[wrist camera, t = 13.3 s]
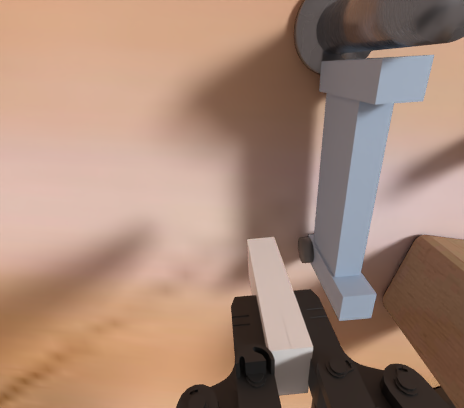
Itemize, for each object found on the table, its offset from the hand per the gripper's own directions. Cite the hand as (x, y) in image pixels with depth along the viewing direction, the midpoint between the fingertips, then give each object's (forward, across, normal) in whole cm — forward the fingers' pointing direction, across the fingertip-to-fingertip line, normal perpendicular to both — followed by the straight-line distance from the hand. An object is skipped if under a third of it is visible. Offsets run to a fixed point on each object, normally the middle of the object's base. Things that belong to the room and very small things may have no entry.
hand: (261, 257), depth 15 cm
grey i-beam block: (+10, +7, +1) cm, 12 cm away
